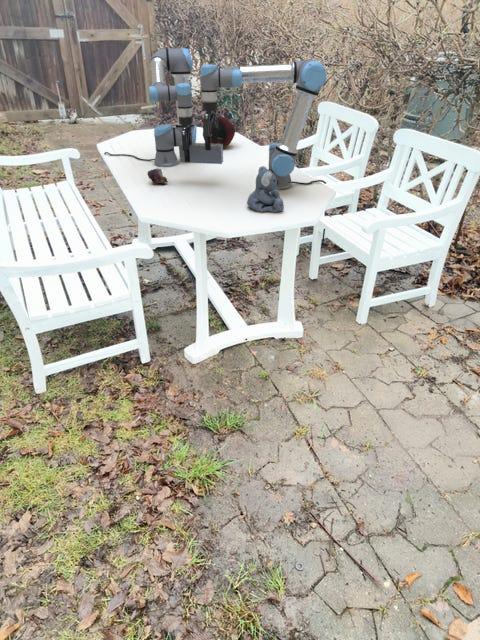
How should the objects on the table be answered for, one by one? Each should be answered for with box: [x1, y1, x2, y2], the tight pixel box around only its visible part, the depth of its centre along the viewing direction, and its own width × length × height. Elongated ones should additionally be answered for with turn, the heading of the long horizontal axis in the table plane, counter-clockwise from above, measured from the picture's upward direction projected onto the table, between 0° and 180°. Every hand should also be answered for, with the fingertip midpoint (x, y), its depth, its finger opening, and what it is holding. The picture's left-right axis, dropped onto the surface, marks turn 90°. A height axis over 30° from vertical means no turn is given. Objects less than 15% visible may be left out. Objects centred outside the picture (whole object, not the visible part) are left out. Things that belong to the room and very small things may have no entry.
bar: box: [178, 142, 224, 165], centre depth 250 cm, size 24×5×10 cm, turn 82°
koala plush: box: [246, 165, 285, 213], centre depth 222 cm, size 17×18×20 cm
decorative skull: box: [200, 116, 236, 149], centre depth 325 cm, size 21×24×25 cm
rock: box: [147, 168, 168, 185], centre depth 259 cm, size 12×9×10 cm
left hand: (188, 160), depth 253 cm, fingers closed on bar, 5 cm apart
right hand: (211, 146), depth 230 cm, fingers open, 13 cm apart
